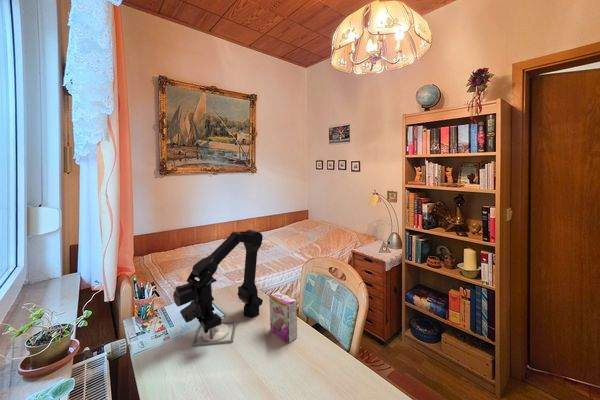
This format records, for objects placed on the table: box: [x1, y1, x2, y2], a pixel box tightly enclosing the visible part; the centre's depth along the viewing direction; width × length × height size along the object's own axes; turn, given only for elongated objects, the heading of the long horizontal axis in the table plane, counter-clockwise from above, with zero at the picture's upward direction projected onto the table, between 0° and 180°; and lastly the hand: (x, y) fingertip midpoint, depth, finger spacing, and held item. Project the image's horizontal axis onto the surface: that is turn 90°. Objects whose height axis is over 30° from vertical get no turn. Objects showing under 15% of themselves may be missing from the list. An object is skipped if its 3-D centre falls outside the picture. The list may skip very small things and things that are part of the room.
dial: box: [201, 324, 229, 342], centre depth 106 cm, size 10×10×5 cm
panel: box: [191, 320, 237, 348], centre depth 107 cm, size 15×13×2 cm
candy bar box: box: [269, 290, 298, 344], centre depth 106 cm, size 11×5×16 cm, turn 47°
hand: (206, 332), depth 103 cm, fingers closed
